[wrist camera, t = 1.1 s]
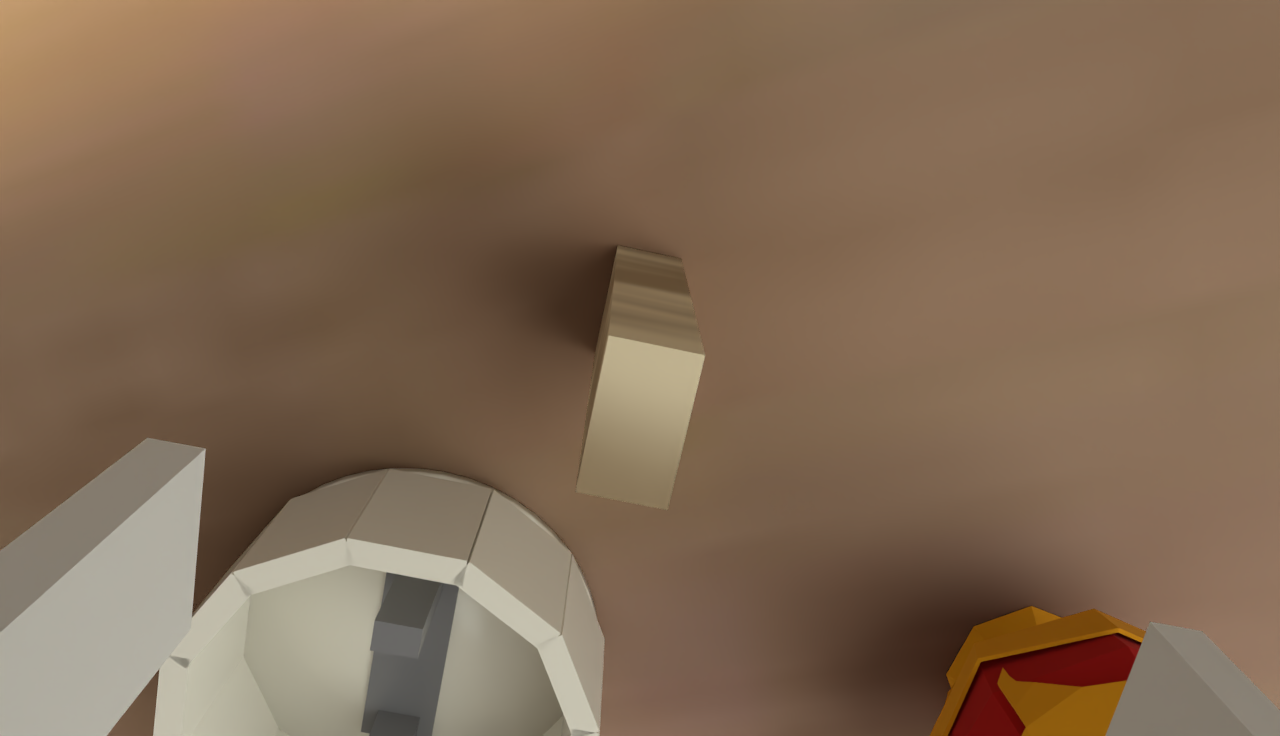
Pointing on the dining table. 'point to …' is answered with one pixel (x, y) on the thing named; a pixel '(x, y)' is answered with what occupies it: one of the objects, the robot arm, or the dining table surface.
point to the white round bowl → (392, 621)
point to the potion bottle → (1039, 675)
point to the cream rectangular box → (641, 382)
